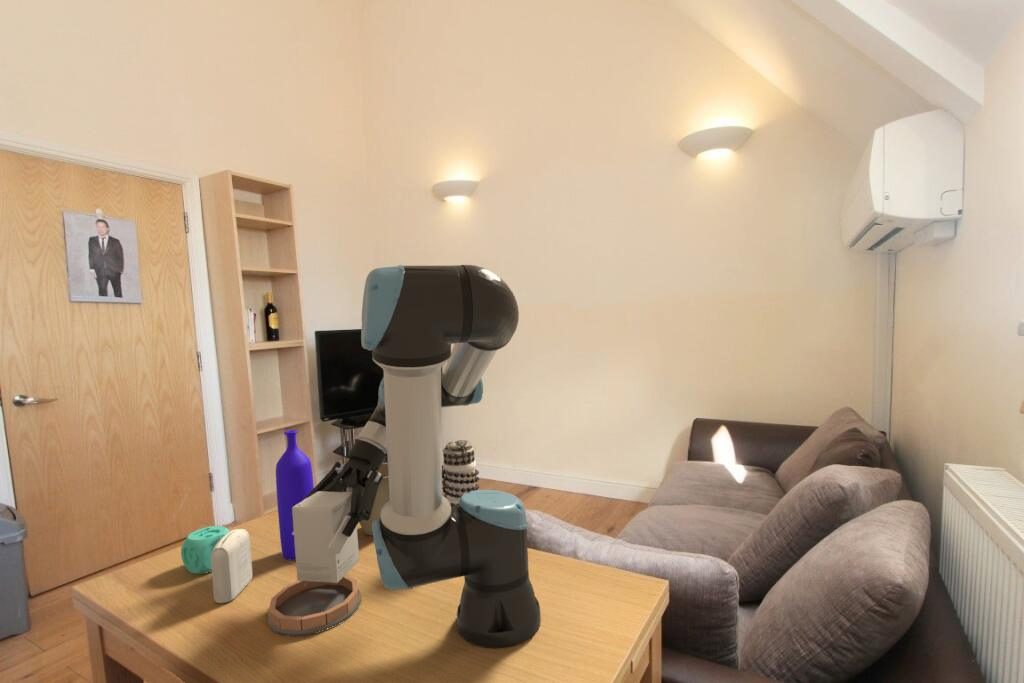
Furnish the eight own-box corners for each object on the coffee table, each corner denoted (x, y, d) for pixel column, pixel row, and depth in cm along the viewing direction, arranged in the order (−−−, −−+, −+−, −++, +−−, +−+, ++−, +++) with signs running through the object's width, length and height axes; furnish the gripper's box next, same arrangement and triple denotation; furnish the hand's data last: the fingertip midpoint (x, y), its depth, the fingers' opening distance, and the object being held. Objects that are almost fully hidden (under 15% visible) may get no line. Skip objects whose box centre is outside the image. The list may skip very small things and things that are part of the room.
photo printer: (236, 578, 113) (231, 524, 112) (255, 577, 113) (251, 522, 112) (210, 605, 103) (205, 545, 102) (232, 603, 103) (227, 544, 102)
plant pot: (417, 522, 139) (414, 464, 138) (383, 546, 125) (378, 482, 124) (374, 515, 145) (370, 460, 144) (336, 537, 131) (332, 477, 130)
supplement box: (337, 584, 98) (331, 508, 97) (296, 581, 100) (289, 507, 99) (361, 561, 107) (355, 491, 106) (322, 558, 108) (317, 490, 107)
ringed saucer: (378, 602, 100) (377, 588, 100) (294, 648, 87) (293, 633, 87) (332, 576, 111) (331, 564, 111) (252, 614, 99) (251, 600, 98)
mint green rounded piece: (215, 555, 125) (212, 523, 124) (236, 560, 121) (234, 528, 121) (182, 570, 118) (179, 537, 117) (204, 577, 114) (200, 542, 114)
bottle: (325, 549, 125) (316, 428, 123) (295, 563, 118) (285, 436, 116) (304, 542, 130) (295, 426, 128) (274, 556, 123) (264, 433, 121)
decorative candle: (440, 540, 127) (434, 441, 125) (474, 532, 130) (469, 436, 129) (451, 556, 118) (445, 450, 117) (488, 546, 122) (482, 444, 121)
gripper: (419, 463, 107) (364, 566, 96) (349, 449, 121) (294, 538, 110) (398, 444, 103) (338, 550, 91) (328, 432, 117) (268, 523, 105)
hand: (314, 544), depth 100 cm, fingers closed on supplement box, 11 cm apart
